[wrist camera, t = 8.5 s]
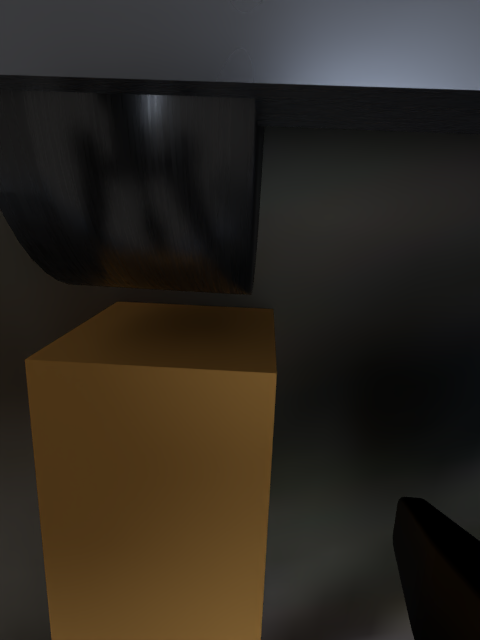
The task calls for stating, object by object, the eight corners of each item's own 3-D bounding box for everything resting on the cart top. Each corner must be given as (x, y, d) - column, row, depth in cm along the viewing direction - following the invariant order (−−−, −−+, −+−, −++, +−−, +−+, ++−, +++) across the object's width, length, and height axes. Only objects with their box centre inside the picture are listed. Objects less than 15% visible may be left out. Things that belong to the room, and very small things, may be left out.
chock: (262, 509, 13) (259, 670, 8) (125, 500, 13) (52, 651, 8) (273, 308, 11) (276, 373, 7) (118, 300, 11) (24, 359, 7)
